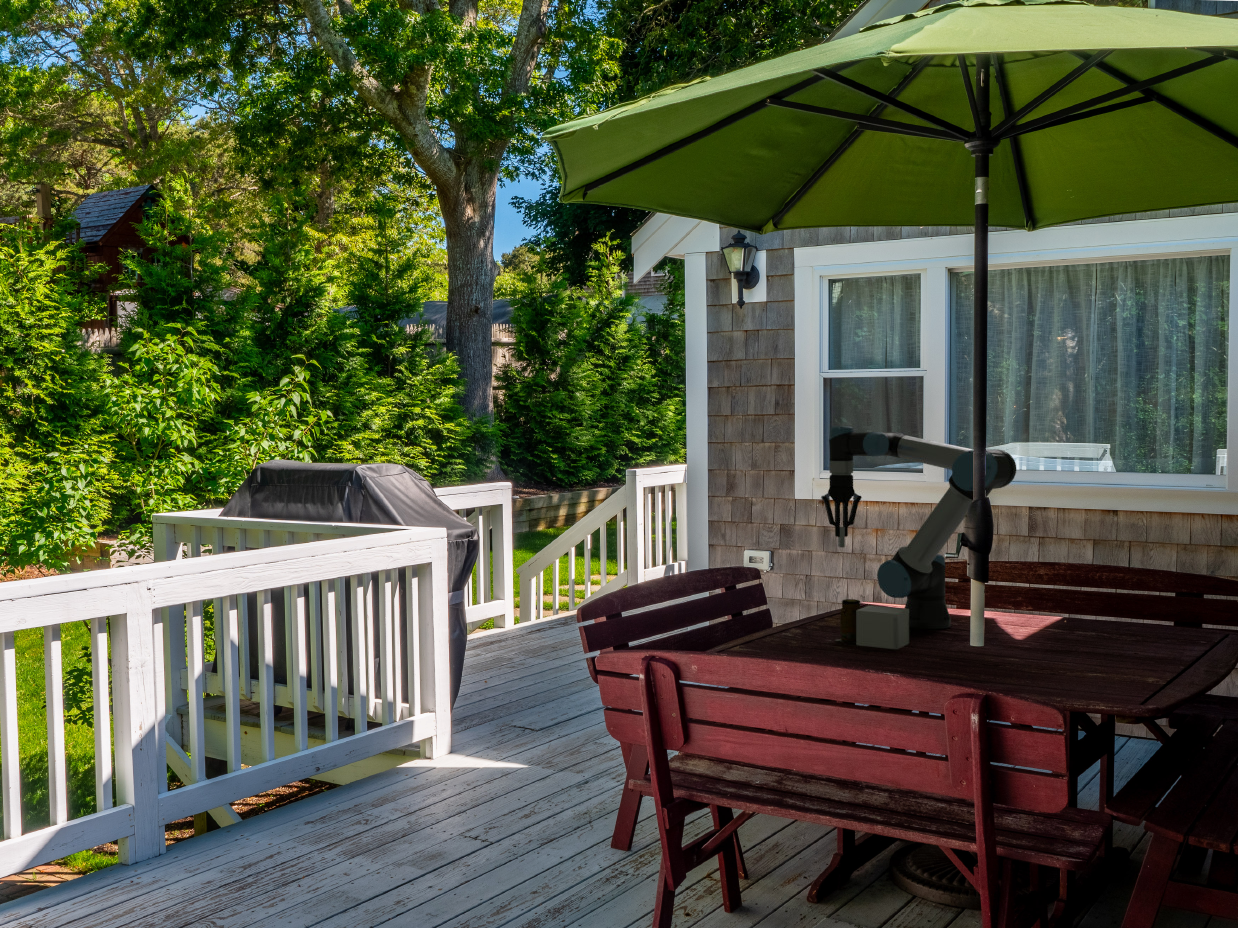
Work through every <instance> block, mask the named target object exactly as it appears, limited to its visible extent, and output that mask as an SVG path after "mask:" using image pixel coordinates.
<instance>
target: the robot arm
mask: <svg viewBox="0 0 1238 928" xmlns="http://www.w3.org/2000/svg"><path fill="white" fill-rule="evenodd" d="M828 442H829V473H830V475H829V488H828V490H827V493H826V494H824V495H821V497H820V498H821V500H822V502H823V503H824V506H825V511H826V515H827V518H828V523H829V525H831V526H834V536H835V537H837V540H838V541H837V544H838V545H837V547H839V548H845V547H846V542H845V541H846V539H845V538H847V537H848V535H849V529H848V528H849V527H850V526H853V525H854V523H855V520H856V519H855V518H856V516H857V511H858V507H859V503H860V501H861V500H862V499H863V498H862V496H861V495H859V494H857V493H856V491H855V488H854V475H853V473H854V457H858V456H859V457H881V456H885V457H889V456H890V457H893V458H898V459H903V460H908V461H912V462H916V463H920V464H925V465H929V466H933V467H937V468H942V469H946V470H949V471H950V470H951V475H950V476H949V478H948V485H949V487H948V489H947V490H946V492H945V493H944V494H943V496H942V497H941V499H940V500H939V501H938V503H937V504H936V506H935V507H934V508H933V510H932V511H931V512H930V514H929V516H928V517H927V518H926V519H925V521H924V522H923V523H922V525H921V527H920V528H919V529H918V531H917V532H916V534H915V535H913V538H912V539H911V540H910V542H909V543H908V545H907V546H901V547H899V548H898V550H897V551H896V552H895V554H894V555H893V557H892V558H891V559H887V560H886V561H883V562H882V563H881V564H880V565H879V567H878V569H877V574H876V576H877V577H876V579H877V584H878V586H879V588H880V590H881V591H882V592H883V593H884V594H885V595H886V596H888V597H889V598H893V599H903V598H906V603H905V606H904V609H909V628H913V629H921V630H922V629H923V630H940V629H941V630H943V629H948V628H950V627H952V626H951V625H952V618H951V616H950V612H949V610H948V607H947V604H946V568H947V567H946V564H945V563H946V560H945V559H946V558H945V556H944V555H942V554H939V553H940V552H941V550H942V549H943V547H944V546H945V545H946V543H947V542H948V541H949V540H950V538H951V537H952V535H953V534H954V533H955V531H956V530H957V529H958V528H959V526H960V525H961V523H962V522H963V521H964V519H965V518H966V516H965V514H966V510H967V508H968V506H969V505H970V504H971V502H972V501H973V452H974V449H975V448H973V449H972V448H967V447H964V446H963V447H962V446H958V445H953V444H948V443H944V442H940V441H934V440H930V439H925V438H920V437H915V436H911V435H905V434H904V433H901V432H897V431H891V432H881V431H880V432H879V431H869V432H865V431H863V432H854V427H852V426H833V427H831V428H829V438H828ZM985 449H986V475H985V490H986V498H988V496H989V495H990V493H991V492H992V490H995V489H997V490H998V489H1001V488H1005V487H1006V486H1008V485H1009V484H1011V483H1012V481H1014V479H1015V476H1016V474H1017V464H1016V461H1015V459H1014V458H1013V456H1012V455H1011V454H1010V453H1008V452H1006V451H1005V450H1002V449H996V448H995V449H994V448H993V449H990V448H985ZM830 499H831V500H832V501H833V503H834V514H833V512H832V507H831V502H830ZM851 499H852V500H853V502H852V504H851V508H850V513H849V502H850V501H851ZM841 503H842V504H841ZM841 505H842V526H841Z"/></svg>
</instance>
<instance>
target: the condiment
mask: <svg viewBox="0 0 1238 928" xmlns="http://www.w3.org/2000/svg"><path fill="white" fill-rule="evenodd" d="M859 609H861V600H859V599H853V598H851V599H849V598H846V599H842V600H841V609H840V638H839V639H835V641H837V642H841V643H842V642H843V643H850V644H856V610H859Z"/></svg>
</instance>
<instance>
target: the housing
mask: <svg viewBox="0 0 1238 928" xmlns="http://www.w3.org/2000/svg"><path fill="white" fill-rule="evenodd" d="M904 608H905V607H904ZM904 608H901V607H888V606H880V605H879V606H878V605H877V606H876V605H867V606H865V607H862V608H861V607H860V609H859V610H856V643H855V644H856V646H861V647H870V648H871V647H872V648H881V649H889V650H891V649H892V650H899V649H901V648H903V647H905V646H907V645H908V644H910V627H909V609H904Z"/></svg>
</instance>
